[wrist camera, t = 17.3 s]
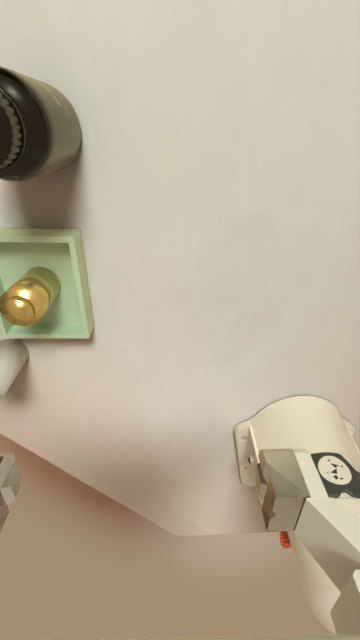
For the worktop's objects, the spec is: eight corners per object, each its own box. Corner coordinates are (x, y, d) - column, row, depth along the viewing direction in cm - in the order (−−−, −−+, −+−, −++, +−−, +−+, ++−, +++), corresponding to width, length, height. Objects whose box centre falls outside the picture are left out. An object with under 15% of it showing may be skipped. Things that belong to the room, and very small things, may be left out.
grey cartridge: (31, 363, 42) (8, 402, 36) (1, 363, 42) (-27, 402, 36) (24, 338, 40) (-1, 375, 34) (-8, 338, 40) (-39, 375, 34)
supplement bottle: (78, 83, 27) (21, 56, 17) (86, 171, 30) (43, 193, 20) (-5, 78, 27) (-115, 46, 16) (13, 167, 30) (-69, 188, 20)
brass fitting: (63, 299, 37) (42, 331, 31) (28, 298, 37) (0, 330, 31) (57, 266, 35) (33, 294, 29) (20, 266, 34) (-11, 293, 29)
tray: (94, 325, 39) (89, 338, 37) (12, 325, 39) (2, 338, 37) (80, 229, 33) (73, 236, 31) (-17, 227, 33) (-32, 235, 30)
